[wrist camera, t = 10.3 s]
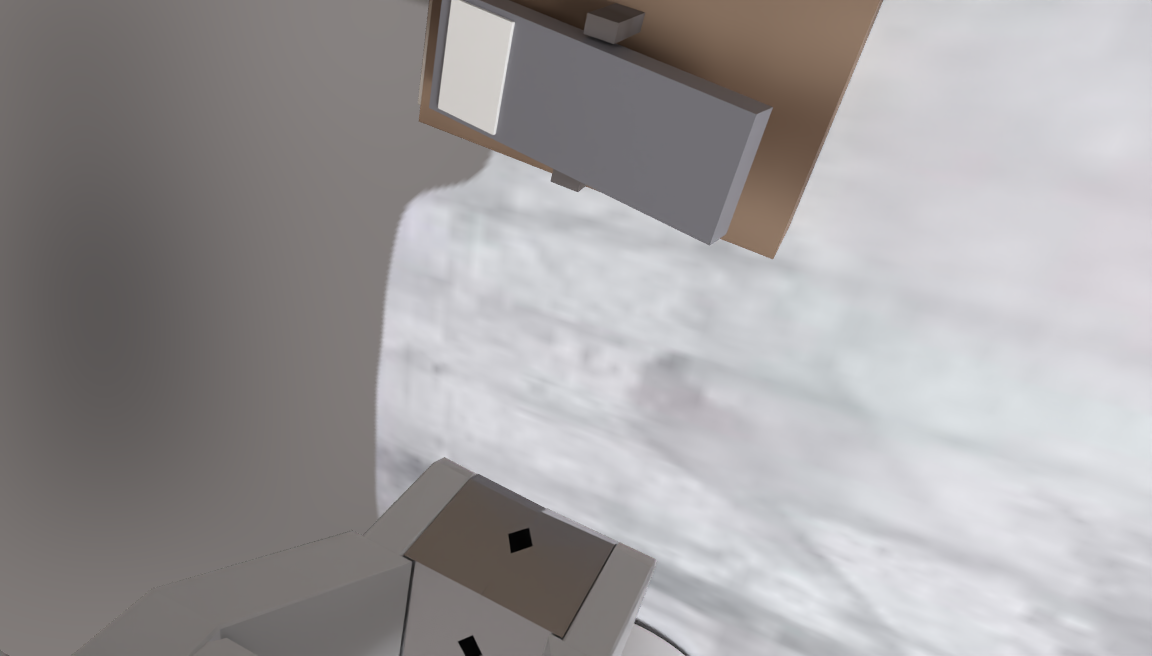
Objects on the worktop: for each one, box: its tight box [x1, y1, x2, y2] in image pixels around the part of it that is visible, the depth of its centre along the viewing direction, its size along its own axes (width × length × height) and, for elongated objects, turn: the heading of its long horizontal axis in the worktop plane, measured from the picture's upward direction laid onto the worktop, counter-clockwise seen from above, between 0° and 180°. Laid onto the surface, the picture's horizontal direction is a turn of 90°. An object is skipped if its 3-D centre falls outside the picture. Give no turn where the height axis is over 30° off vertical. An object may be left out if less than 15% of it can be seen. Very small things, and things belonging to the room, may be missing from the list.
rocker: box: [429, 0, 773, 245], centre depth 24 cm, size 4×11×1 cm, turn 77°
